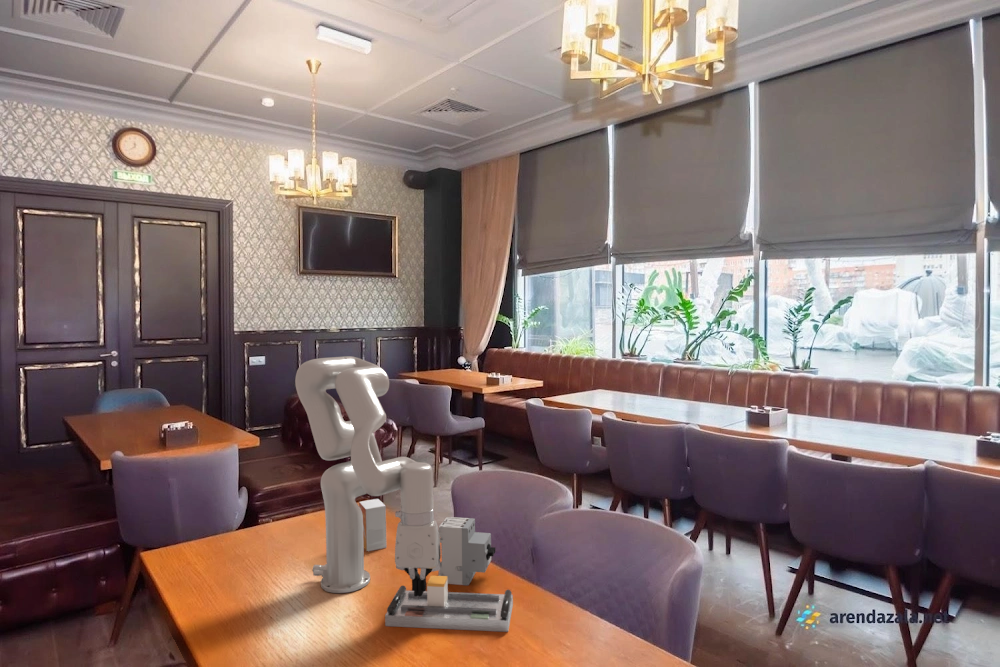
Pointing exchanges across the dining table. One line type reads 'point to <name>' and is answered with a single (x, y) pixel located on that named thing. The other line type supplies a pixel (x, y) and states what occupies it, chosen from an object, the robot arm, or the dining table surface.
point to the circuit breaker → (463, 550)
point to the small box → (373, 524)
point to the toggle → (437, 591)
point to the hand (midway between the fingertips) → (419, 593)
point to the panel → (451, 611)
